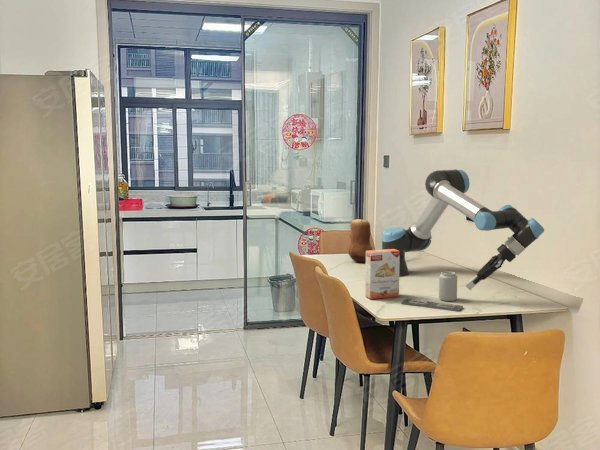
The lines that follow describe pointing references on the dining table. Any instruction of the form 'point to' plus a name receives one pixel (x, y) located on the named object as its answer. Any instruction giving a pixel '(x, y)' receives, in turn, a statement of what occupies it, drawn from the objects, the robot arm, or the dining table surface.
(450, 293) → the can
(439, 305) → the panel
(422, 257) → the dining table surface
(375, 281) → the cracker box
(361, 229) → the butternut squash
